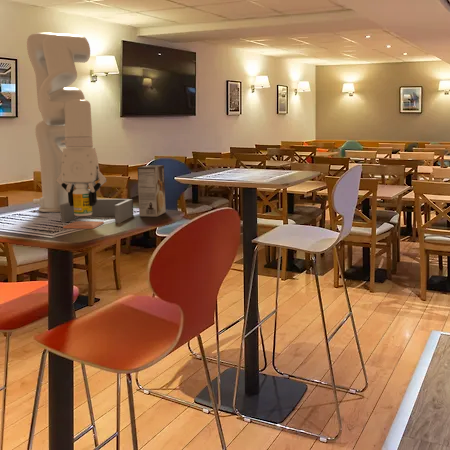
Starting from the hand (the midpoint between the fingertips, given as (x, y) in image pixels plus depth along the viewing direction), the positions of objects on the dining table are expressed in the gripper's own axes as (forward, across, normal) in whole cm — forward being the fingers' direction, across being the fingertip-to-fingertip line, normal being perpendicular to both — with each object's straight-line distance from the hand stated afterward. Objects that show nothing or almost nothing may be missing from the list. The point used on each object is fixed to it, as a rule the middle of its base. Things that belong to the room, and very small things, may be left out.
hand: (82, 204), depth 172 cm
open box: (+6, 0, +12) cm, 14 cm away
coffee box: (+6, +15, +23) cm, 28 cm away
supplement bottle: (+3, 0, 0) cm, 3 cm away
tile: (+6, 0, 0) cm, 6 cm away
